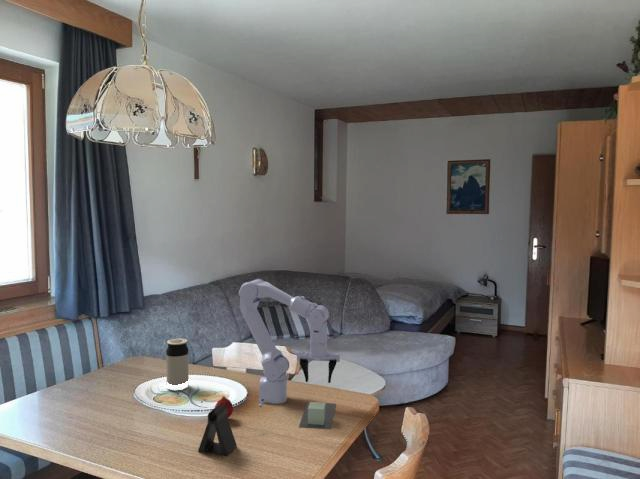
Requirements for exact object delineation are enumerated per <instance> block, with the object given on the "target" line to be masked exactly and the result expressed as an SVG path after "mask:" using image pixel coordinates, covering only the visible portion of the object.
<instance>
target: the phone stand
mask: <svg viewBox="0 0 640 479" xmlns="http://www.w3.org/2000/svg"><path fill="white" fill-rule="evenodd" d="M220 405H221V404H219V405H218V406H217V407H215V406H214V408H213V409H212V410H211V411H209V412H208V414H207V424H206V427H205V430H204V432H203V435H202V439H201V441H200V444H199V447H198V449H197V453H199V454H200V453H201V454H207V455H208V454H209V455H214V456H215V455H216V456H222V457H228V456H230V454H231V452H233V450H234V449H236V447H237V442H236V439H235V435H234V433H233V429H232V426H231V424H230V421H229V417H227V407H226V406H225V405H224V404H223V405H222V406H221V407H219V406H220ZM218 407H219V408H218ZM216 436H217V440H218V441H217V442H215V438H216Z"/></svg>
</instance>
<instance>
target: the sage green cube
mask: <svg viewBox="0 0 640 479" xmlns="http://www.w3.org/2000/svg"><path fill="white" fill-rule="evenodd" d="M326 403H327V402H314V401H310V404H309V407H308V424H315V425H324V422H325V406H326Z"/></svg>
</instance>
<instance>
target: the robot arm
mask: <svg viewBox="0 0 640 479" xmlns="http://www.w3.org/2000/svg"><path fill="white" fill-rule="evenodd" d="M238 296H239V310H240V312H241V315H242V317H243V319H244V320H245V323H246V325H247V326H248V329H249V330H250V333H251V335H252V338H253V340H254V341H255V344H256V345H257V349H258V350H259V352H260V353H261V366H262V371H263V376H264V377H263V376H262V377H260V380H259V386H258V387H259V389H258V394H259V395H258V397H259V398H258V400H259V401H258V407H262V406H263V404H264V403H267V404H274V405H276V404H277V405H279V404H283V403H285V402H287V401H288V392H287V391H288V375H287V372H288V370H290V361H289V359H288V358H287V357H286V356H284V354H283V353H282V351H281V350H280V349H278V348H276V345H275V343H274V341H273V339H272V337H271V335H270V333H269V330H268V329H267V326H266V324H265V323H264V320H263V318H262V316H261V314H260V313H259V310H258V306H259V303H260V300H262V299H263V298H270V299H273V300H275V301H277V302H279V303H281V304H284V305H286V306H288V308H289V310H290V311H291V312H293V313H294V314H296V315H298V316H300V317H302V318H304V319H306V320H308V322H309V324H310V329H309V334H310V335H309V352H304V353H301V352H299V353H297V354H296V361H299V366H300V368H301V370H302V372H303V375H304V380H305V382H306V383H308V382H309V377H310V376H309V361H318V362H319V361H320V362H328V365H327V366H328V376H327V383H328V384H331V381H332V377H333V376H332V375H333V372H334V370H335V368H336V365H337V363H340V362H341V355H340V354H336V353H335V354H332V353H328V322H327V320H328V319H329V318H330V311H329V310H328V308H327V307H326V306H325V305H323V304H320V305H319V304H317V303H316V302H311V301H309V300H308V299H306V297H305V296H303V295H301V296H299V295H297V296H292V295H290V294H289V293H287V292H285V291H283V290H281V289H279V288H278V287H276V286H275V285H273V284H271V282H268V281H264V280H263V279H261V278H256V279H254V280H251V281H246V282H244V283H242V284H241V286H240V288H239V291H238Z"/></svg>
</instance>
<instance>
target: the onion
mask: <svg viewBox="0 0 640 479" xmlns="http://www.w3.org/2000/svg"><path fill="white" fill-rule="evenodd" d="M232 403H233V402H231V400H230V399H228V398H227V397H226V396H225V395H222V396H221V398H219V400H218V401H217V402H216V403H215V406H214V408H215V407H217V406H218V405H219V404H221V405H220V406H219V407H221V406H222V405H223V404H224V405H225V406H226V407H227V417H228V418H230V417H231V415H232V414H233V412H234V406H233V404H232ZM219 407H218V408H219Z"/></svg>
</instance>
